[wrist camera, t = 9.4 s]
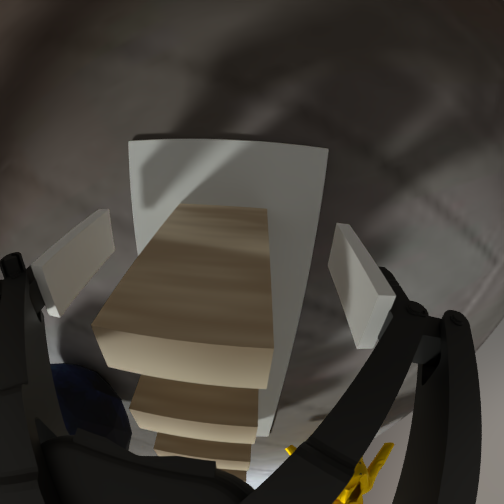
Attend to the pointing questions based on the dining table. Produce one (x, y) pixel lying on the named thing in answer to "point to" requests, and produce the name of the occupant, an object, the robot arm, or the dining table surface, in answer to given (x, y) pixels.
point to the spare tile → (196, 301)
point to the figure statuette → (360, 476)
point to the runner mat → (241, 195)
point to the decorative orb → (90, 404)
